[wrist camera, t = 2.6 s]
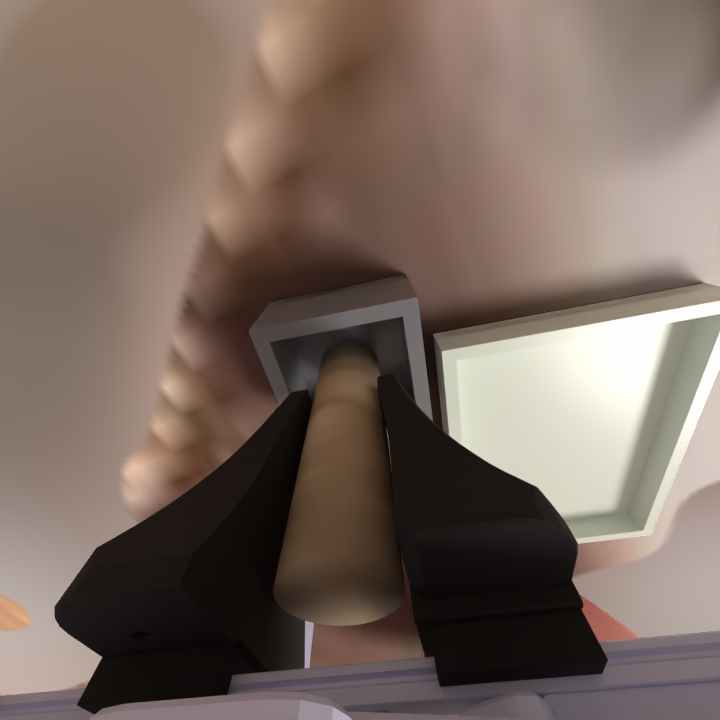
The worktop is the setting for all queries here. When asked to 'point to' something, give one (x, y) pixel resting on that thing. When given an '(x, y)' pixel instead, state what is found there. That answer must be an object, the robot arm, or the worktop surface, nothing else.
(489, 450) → the tray
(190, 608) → the robot arm
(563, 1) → the worktop surface
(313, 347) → the grey square box
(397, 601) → the dowel
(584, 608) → the cell model
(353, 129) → the worktop surface
